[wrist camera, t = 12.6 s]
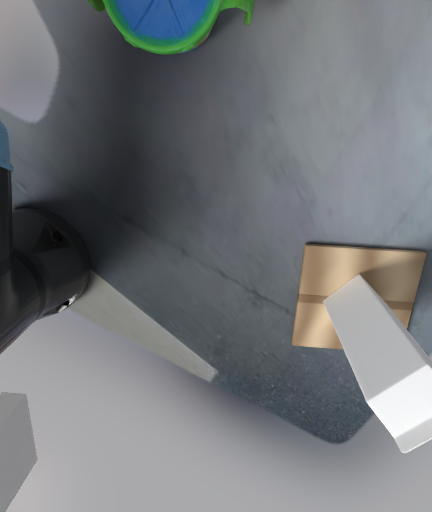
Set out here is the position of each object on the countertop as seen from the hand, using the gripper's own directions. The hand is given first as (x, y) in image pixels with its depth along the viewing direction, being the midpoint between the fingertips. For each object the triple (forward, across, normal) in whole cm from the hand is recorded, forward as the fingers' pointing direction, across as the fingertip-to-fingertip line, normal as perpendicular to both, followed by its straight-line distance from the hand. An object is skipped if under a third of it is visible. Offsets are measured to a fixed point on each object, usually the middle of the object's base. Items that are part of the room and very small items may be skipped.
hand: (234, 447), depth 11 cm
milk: (+36, +16, -12) cm, 41 cm away
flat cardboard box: (+37, +16, -12) cm, 42 cm away
